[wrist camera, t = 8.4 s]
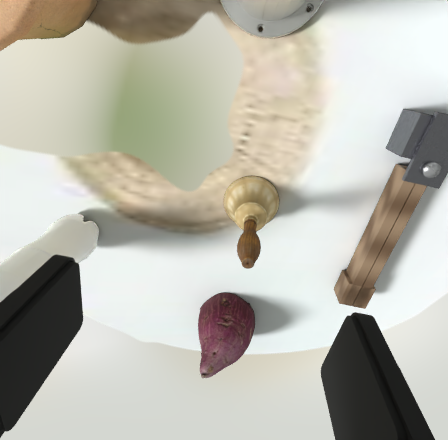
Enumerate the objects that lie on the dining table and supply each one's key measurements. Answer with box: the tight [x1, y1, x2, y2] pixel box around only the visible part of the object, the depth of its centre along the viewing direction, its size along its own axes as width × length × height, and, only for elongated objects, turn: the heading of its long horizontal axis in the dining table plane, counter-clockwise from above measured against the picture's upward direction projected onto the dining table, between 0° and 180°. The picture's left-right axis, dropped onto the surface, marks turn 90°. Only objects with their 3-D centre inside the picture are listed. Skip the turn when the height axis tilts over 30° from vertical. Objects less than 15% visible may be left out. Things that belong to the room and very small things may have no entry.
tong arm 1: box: [352, 184, 427, 309], centre depth 42 cm, size 22×2×4 cm, turn 169°
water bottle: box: [0, 214, 99, 302], centre depth 37 cm, size 7×7×25 cm
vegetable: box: [198, 293, 255, 378], centre depth 49 cm, size 10×10×15 cm
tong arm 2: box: [334, 164, 415, 306], centre depth 42 cm, size 22×2×4 cm, turn 169°
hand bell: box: [224, 176, 279, 268], centre depth 37 cm, size 8×8×16 cm
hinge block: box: [386, 109, 448, 188], centre depth 36 cm, size 8×7×6 cm
